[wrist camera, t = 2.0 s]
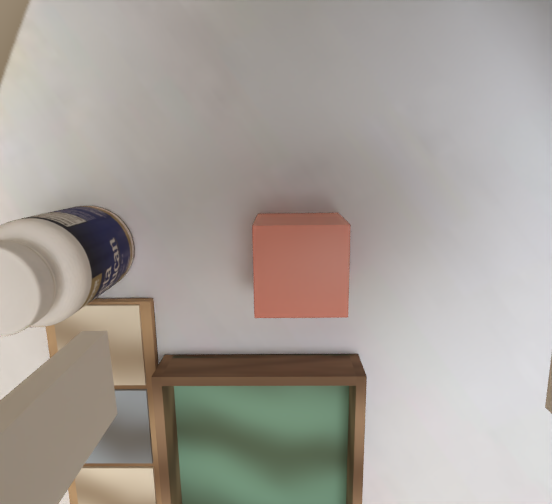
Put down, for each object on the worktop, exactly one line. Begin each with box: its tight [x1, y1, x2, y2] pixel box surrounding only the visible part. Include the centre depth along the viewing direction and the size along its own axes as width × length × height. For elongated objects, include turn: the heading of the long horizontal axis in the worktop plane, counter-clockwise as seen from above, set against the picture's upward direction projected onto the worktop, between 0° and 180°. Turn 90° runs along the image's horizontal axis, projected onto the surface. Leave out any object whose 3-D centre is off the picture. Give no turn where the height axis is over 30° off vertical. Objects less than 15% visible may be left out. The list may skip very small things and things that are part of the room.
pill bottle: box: [0, 206, 134, 337], centre depth 22 cm, size 5×5×10 cm
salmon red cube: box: [252, 213, 350, 318], centre depth 24 cm, size 5×5×5 cm
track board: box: [46, 298, 162, 504], centre depth 30 cm, size 24×7×1 cm, turn 1°
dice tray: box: [151, 354, 367, 504], centre depth 28 cm, size 13×13×3 cm
